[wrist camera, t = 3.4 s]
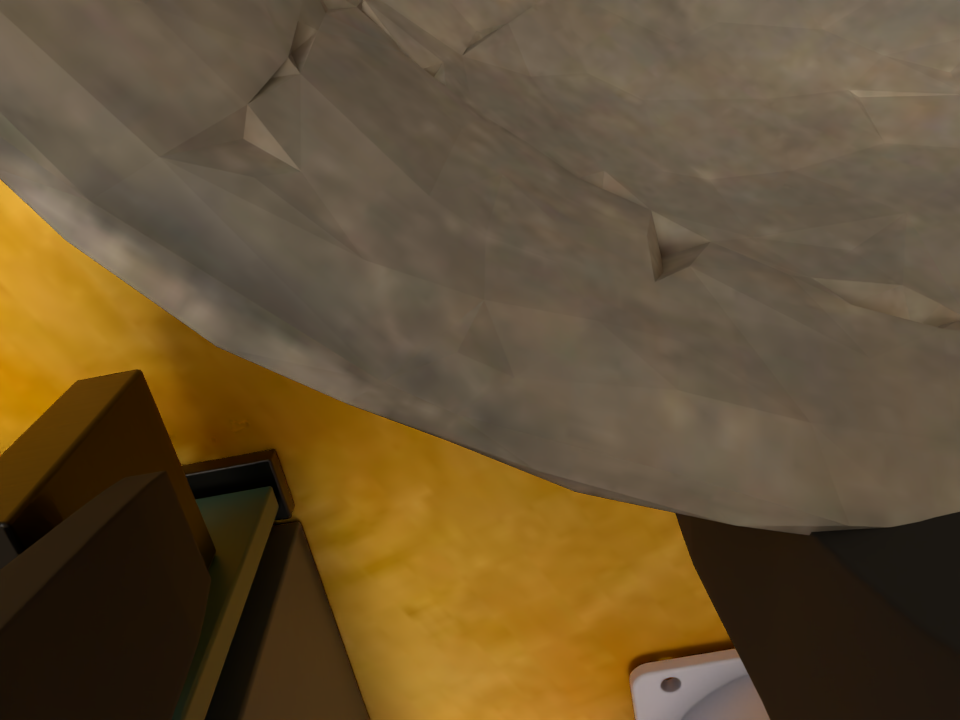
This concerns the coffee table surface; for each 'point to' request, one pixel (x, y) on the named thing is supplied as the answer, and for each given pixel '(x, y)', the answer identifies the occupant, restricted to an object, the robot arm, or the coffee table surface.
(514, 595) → the coffee table surface
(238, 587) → the sliding door
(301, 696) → the cabinet
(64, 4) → the bowl
